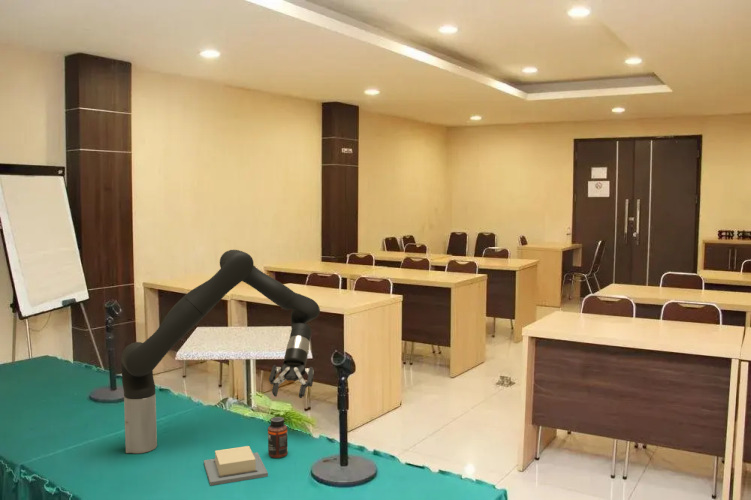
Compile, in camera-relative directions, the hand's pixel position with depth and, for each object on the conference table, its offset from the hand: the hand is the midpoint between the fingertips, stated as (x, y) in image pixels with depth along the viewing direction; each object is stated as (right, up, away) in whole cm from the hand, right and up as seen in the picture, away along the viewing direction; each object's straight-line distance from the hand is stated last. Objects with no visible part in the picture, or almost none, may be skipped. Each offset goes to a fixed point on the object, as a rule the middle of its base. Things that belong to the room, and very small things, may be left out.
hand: (287, 396), depth 205 cm
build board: (-12, -17, -20) cm, 29 cm away
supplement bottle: (-2, -16, -9) cm, 19 cm away
